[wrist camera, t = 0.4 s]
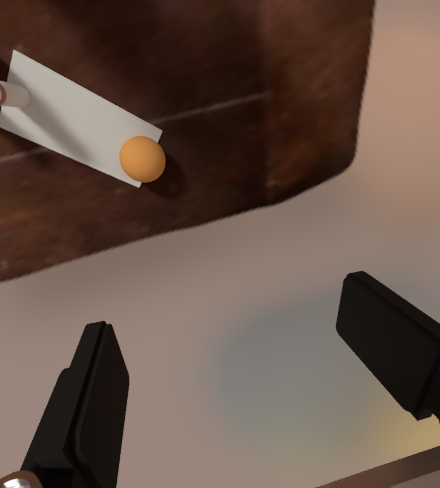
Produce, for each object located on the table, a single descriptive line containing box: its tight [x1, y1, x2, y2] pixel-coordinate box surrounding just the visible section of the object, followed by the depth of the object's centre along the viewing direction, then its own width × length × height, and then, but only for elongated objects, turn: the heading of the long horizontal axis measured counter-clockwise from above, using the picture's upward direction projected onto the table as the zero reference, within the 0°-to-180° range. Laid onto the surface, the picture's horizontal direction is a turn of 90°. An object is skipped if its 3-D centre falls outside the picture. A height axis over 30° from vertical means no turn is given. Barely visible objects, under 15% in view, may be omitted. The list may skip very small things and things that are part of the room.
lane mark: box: [0, 50, 162, 188], centre depth 33 cm, size 18×9×1 cm, turn 61°
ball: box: [119, 136, 166, 182], centre depth 34 cm, size 6×6×6 cm
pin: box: [0, 81, 32, 108], centre depth 27 cm, size 2×2×8 cm
